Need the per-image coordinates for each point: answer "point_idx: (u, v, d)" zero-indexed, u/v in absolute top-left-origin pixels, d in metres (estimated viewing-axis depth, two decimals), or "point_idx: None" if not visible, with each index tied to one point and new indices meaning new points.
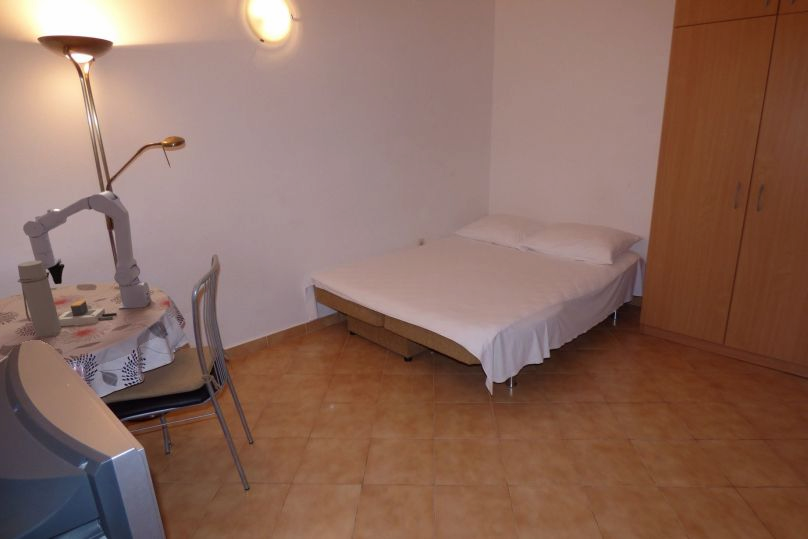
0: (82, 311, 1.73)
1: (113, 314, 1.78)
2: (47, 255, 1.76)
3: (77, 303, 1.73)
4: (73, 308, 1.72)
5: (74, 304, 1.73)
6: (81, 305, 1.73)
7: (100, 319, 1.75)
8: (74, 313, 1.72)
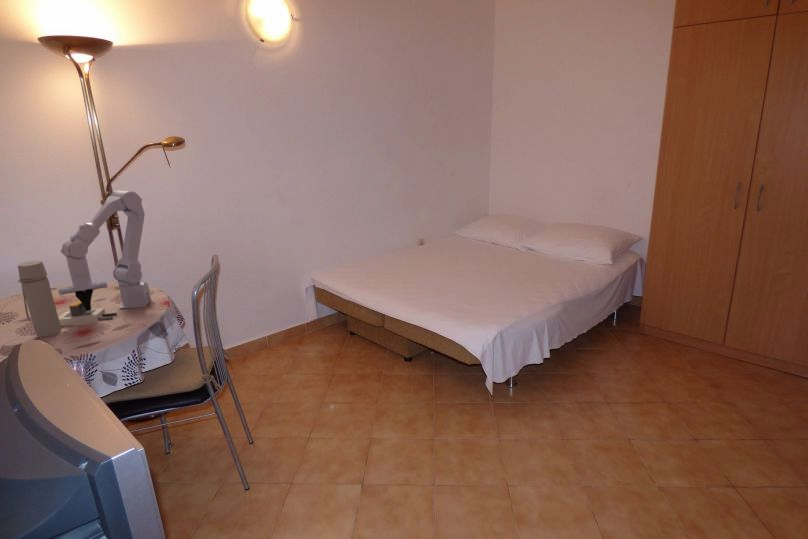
0: (81, 311, 1.73)
1: (113, 314, 1.78)
2: (74, 279, 1.69)
3: (76, 303, 1.73)
4: (72, 308, 1.72)
5: (73, 304, 1.73)
6: (80, 305, 1.73)
7: (100, 319, 1.75)
8: (73, 313, 1.72)
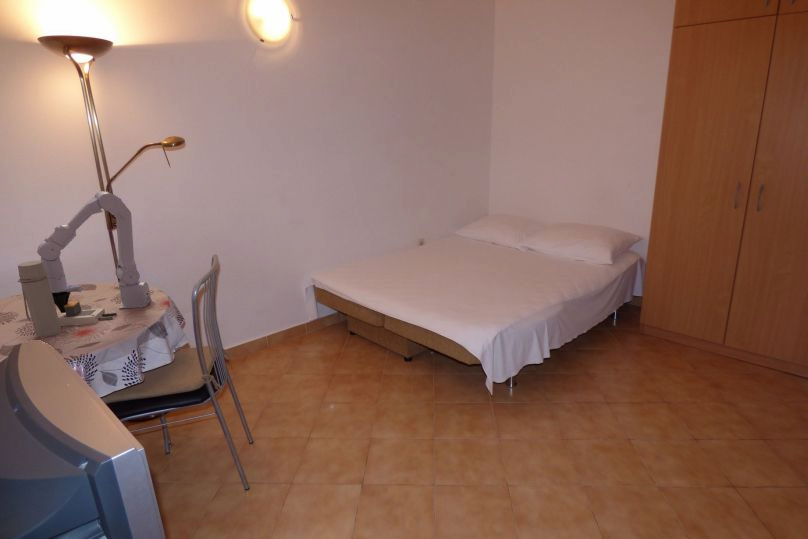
0: (76, 312, 1.73)
1: (113, 314, 1.78)
2: None
3: (71, 304, 1.73)
4: (66, 309, 1.72)
5: (67, 305, 1.72)
6: (75, 306, 1.73)
7: (100, 319, 1.75)
8: (67, 314, 1.72)
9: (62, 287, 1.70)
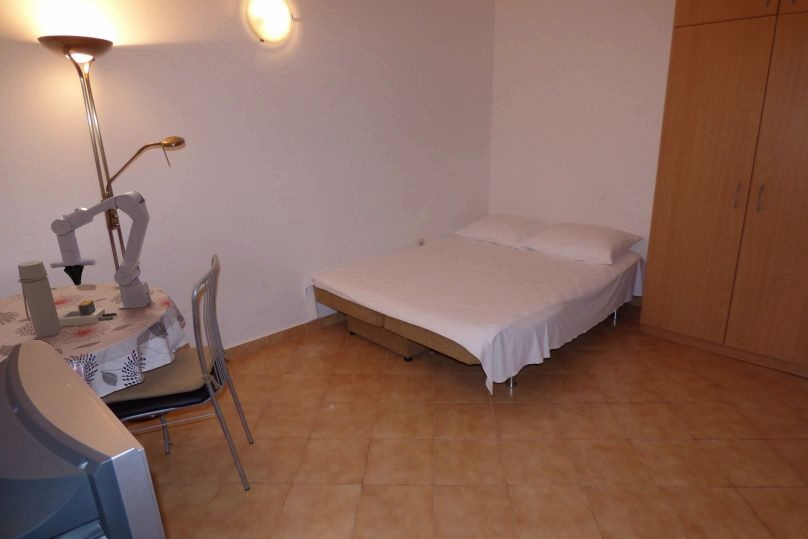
0: (90, 310, 1.74)
1: (113, 314, 1.78)
2: (62, 254, 1.77)
3: (85, 302, 1.74)
4: (81, 307, 1.72)
5: (82, 303, 1.73)
6: (89, 304, 1.74)
7: (100, 319, 1.75)
8: (82, 312, 1.73)
9: (76, 260, 1.79)
